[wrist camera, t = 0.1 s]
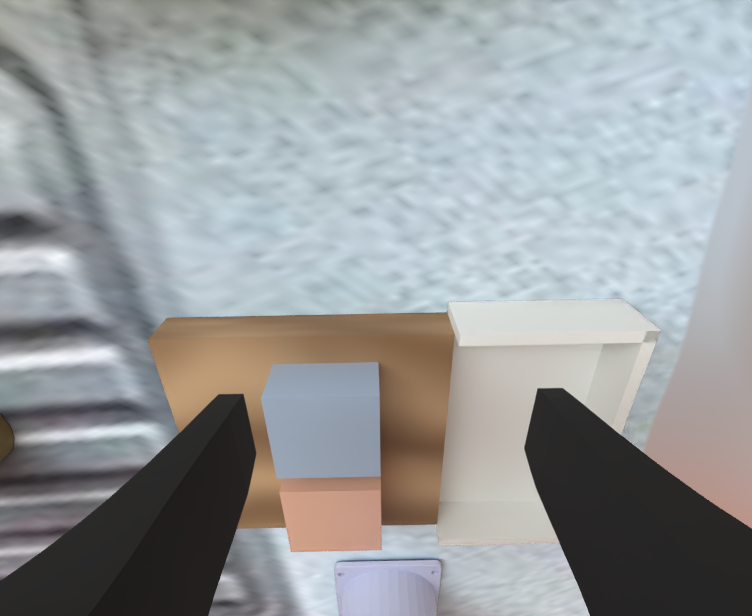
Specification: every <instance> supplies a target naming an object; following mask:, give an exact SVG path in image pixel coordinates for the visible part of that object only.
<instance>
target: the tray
mask: <svg viewBox="0 0 752 616" xmlns="http://www.w3.org/2000/svg"><path fill="white" fill-rule="evenodd" d="M447 313H448V316H449V319H450V322H451V325H452V328H453V331H454V333H455V336H454V347H453V358H452V369H451V379H450V390H449V401H448V412H447V422H446V433H445V444H444V455H443V466H442V476H441V487H440V498H439V509H438V519H437V524H436V530H437V537H438V543H439V546H461V545H507V544H553V543H559V540H558V538H557V536H556V534H555V531H554V529H553V527H552V525H551V522H550V520H549V518H548V515H547V513H546V511H545V508H544V506H543V504H542V501H541V499H540V497H539V494H538V492H537V490H536V487H535V484H534V480H533V477H532V474H531V471H530V468H529V464H528V461H527V457H526V454H525V450H524V446H525V441H526V437H527V433H528V428H529V424H530V420H531V415H532V411H533V406H534V402H535V398H536V393H537V389H538V388H563V389H565V390H566V391H567V392H569V393H570V394H571V395H572V396H574V397H575V398H576V399H577V400H579V401H580V402H581V403H582V404H584V405H585V406H586V407H587V408H588V409H590V410H591V411H592V412H593V413H594V414H596V415H597V416H598V417H599V418H601V419H602V420H603V421H604V422H605V423H607V424H608V425H609V426H610V427H612V428H613V429H614V430H615V431H617V432H618V433H619V434H620V435H621V434H622V431H623V428H624V426H625V423H626V420H627V418H628V415H629V412H630V410H631V407H632V405H633V402H634V399H635V397H636V394H637V391H638V389H639V386H640V384H641V381H642V378H643V376H644V373H645V370H646V368H647V365H648V362H649V360H650V357H651V355H652V352H653V349H654V347H655V344H656V341H657V339H658V336H659V334H660V330H659V329H658V328H657V327H655V326H654V325H653V324H652V323H651V322H649V321H648V320H647V319H646V318H645V317H644V316H642V315H641V314H640V313H639V312H638V311H636V310H635V309H634V308H633V307H632V306H630V305H629V304H628V303H627V302H626V301H624V300H623V299H578V300H526V301H474V302H448V311H447Z"/></svg>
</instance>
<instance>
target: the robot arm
mask: <svg viewBox="0 0 752 616" xmlns="http://www.w3.org/2000/svg"><path fill="white" fill-rule="evenodd" d="M524 450H525V454H526V457H527V461H528V464H529V468H530V471H531V474H532V477H533V480H534V484H535V487H536V490H537V492H538V494H539V497H540V499H541V501H542V504H543V506H544V508H545V511H546V513H547V515H548V518H549V520H550V522H551V525H552V527H553V529H554V531H555V534H556V536H557V538H558V540H559V543H560V545H561V547H562V550H563V552H564V554H565V556H566V559H567V561H568V563H569V565H570V568H571V570H572V572H573V575H574V577H575V579H576V581H577V584H578V586H579V588H580V591H581V593H582V596H583V599H584V601H585V604H586V606H587V609H588V611H589V614H590V616H752V529H751V528H750V527H748V526H747V525H745V524H744V523H742V522H741V521H739V520H737V519H736V518H734V517H733V516H731V515H730V514H728V513H726V512H725V511H724V510H722V509H720V508H719V507H717V506H716V505H714V504H713V503H712V502H710V501H709V500H707V499H706V498H704V497H703V496H701V495H700V494H698V493H697V492H696V491H694V490H693V489H692V488H690V487H689V486H687V485H686V484H685V483H683V482H682V481H680V480H679V479H678V478H676V477H675V476H673V475H672V474H671V473H669V472H668V471H667V470H665V469H664V468H663V467H661V466H660V465H659V464H657V463H656V462H655V461H653V460H652V459H651V458H649V457H648V456H647V455H646V454H644V453H643V452H642V451H640V450H639V449H638V448H637V447H635V446H634V445H633V444H632V443H630V442H629V441H628V440H626V439H625V438H624V437H623V436H621V435H620V434H619V433H618V432H617V431H615V430H614V429H613V428H612V427H610V426H609V425H608V424H607V423H605V422H604V421H603V420H602V419H601V418H599V417H598V416H597V415H596V414H594V413H593V412H592V411H591V410H590V409H588V408H587V407H586V406H585V405H584V404H582V403H581V402H580V401H579V400H577V399H576V398H575V397H574V396H572V395H571V394H570V393H569V392H567V391H566V390H565V389H563V388H538V389H537V393H536V398H535V402H534V406H533V411H532V415H531V420H530V424H529V428H528V433H527V437H526V441H525V446H524ZM255 458H256V448H255V444H254V439H253V435H252V430H251V426H250V421H249V416H248V412H247V407H246V403H245V398H244V394H218V395H217V396H216V397H215V398H214V399H213V400H212V401H211V402H210V403H209V404H208V405H207V406H206V407H205V408H204V409H203V410H202V411H201V412H200V413H199V414H198V415H197V416H196V417H195V418H194V419H193V420H192V421H191V422H190V423H189V424H188V425H187V426H186V427H185V428H184V429H183V430H182V431H181V432H180V433H179V434H178V435H177V436H176V437H175V438H174V439H173V440H172V441H171V442H170V443H169V444H168V445H167V446H166V447H165V448H164V449H162V450H161V451H160V452H159V453H158V454H157V455H156V456H155V457H154V458H153V459H152V460H151V461H150V462H149V463H148V464H147V465H146V466H145V467H144V468H142V469H141V470H140V471H139V472H138V473H137V474H136V475H135V476H133V477H132V478H131V479H130V480H129V481H128V482H127V483H126V484H125V485H123V486H122V487H121V488H120V489H119V490H118V491H117V492H116V493H114V494H113V495H112V496H111V497H110V498H109V499H108V500H106V501H105V502H104V503H103V504H102V505H101V506H99V507H98V508H97V509H96V510H95V511H93V512H92V513H91V514H90V515H88V516H87V517H86V518H85V519H84V520H82V521H81V522H80V523H78V524H77V525H76V526H75V527H73V528H72V529H71V530H69V531H68V532H67V533H66V534H64V535H63V536H62V537H61V538H59V539H58V540H57V541H55V542H54V543H53V544H51V545H50V546H49V547H47V548H46V549H45V550H44V551H42V552H41V553H39V554H38V555H37V556H35V557H34V558H32V559H31V560H30V561H28V562H27V563H25V564H24V565H23V566H21V567H20V568H18V569H17V570H16V571H14V572H13V573H11V574H10V575H8V576H7V577H6V578H4V579H3V580H1V581H0V616H208V614H209V611H210V607H211V604H212V601H213V597H214V594H215V591H216V588H217V585H218V582H219V579H220V576H221V573H222V570H223V567H224V564H225V561H226V558H227V556H228V553H229V550H230V547H231V544H232V541H233V538H234V535H235V532H236V529H237V526H238V523H239V520H240V517H241V514H242V511H243V508H244V505H245V502H246V499H247V496H248V492H249V487H250V483H251V478H252V474H253V468H254V463H255ZM441 571H442V566H441V562H440V561H438V560H404V561H358V562H338V563H336V564H335V567H334V572H335V581H336V590H337V599H338V607H339V616H437V607H438V598H439V589H440V580H441Z"/></svg>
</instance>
